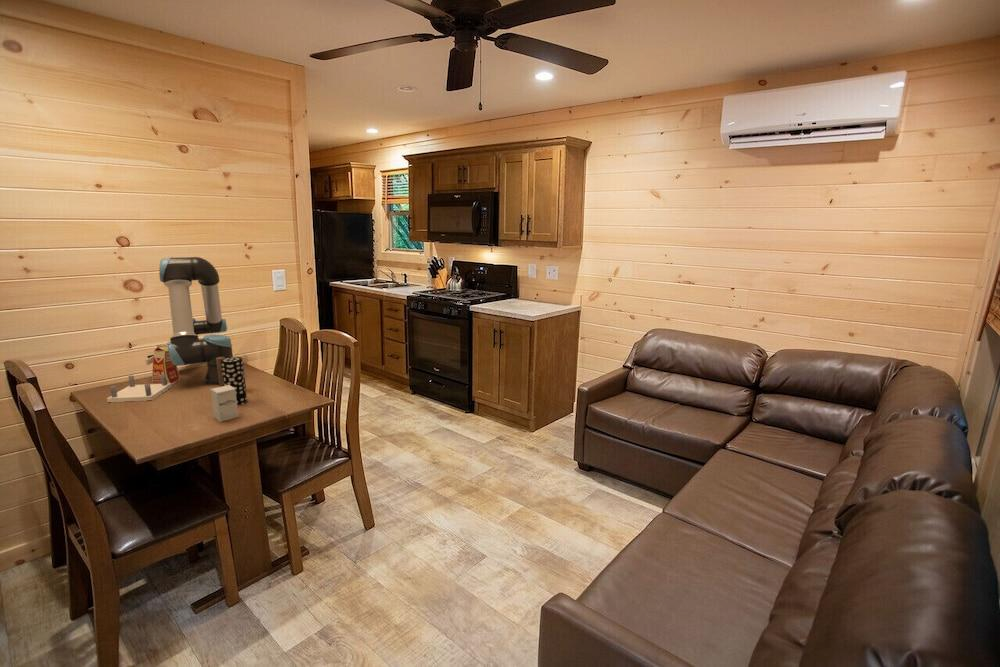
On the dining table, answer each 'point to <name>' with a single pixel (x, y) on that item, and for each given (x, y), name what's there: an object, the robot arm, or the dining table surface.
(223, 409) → the supplement box
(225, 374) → the white-spotted black cylinder
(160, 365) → the milk carton
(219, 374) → the wooden block
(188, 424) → the dining table surface
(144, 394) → the peg platform
